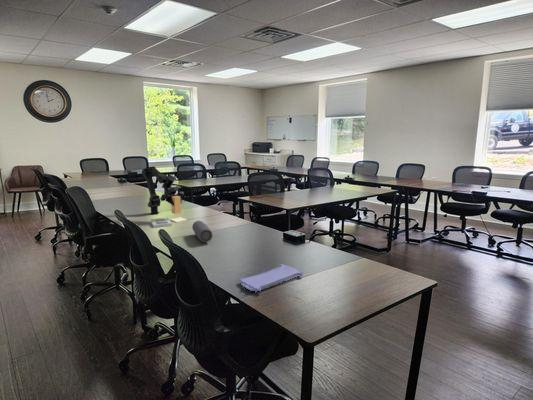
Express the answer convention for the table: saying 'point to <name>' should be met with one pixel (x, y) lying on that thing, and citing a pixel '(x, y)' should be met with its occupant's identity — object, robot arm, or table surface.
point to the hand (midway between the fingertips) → (177, 204)
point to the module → (176, 204)
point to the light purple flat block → (269, 277)
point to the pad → (178, 219)
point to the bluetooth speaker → (202, 231)
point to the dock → (160, 222)
